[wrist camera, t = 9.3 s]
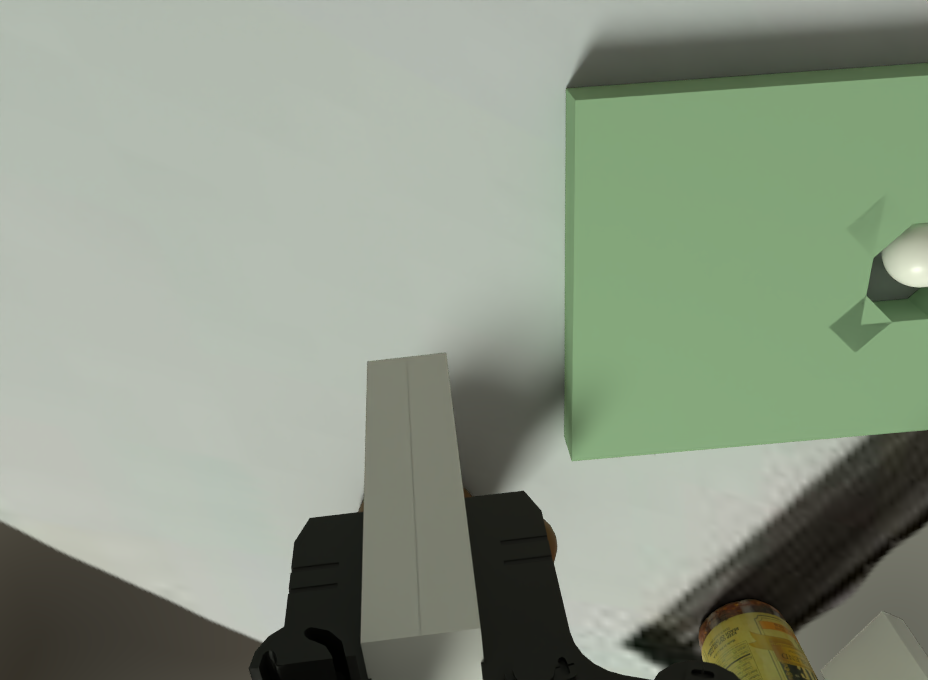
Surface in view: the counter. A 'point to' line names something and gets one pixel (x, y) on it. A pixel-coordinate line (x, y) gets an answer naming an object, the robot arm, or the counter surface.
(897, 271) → the ball
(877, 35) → the counter surface
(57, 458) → the counter surface
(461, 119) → the counter surface
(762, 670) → the sauce bottle
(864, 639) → the paper towel holder
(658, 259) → the green
